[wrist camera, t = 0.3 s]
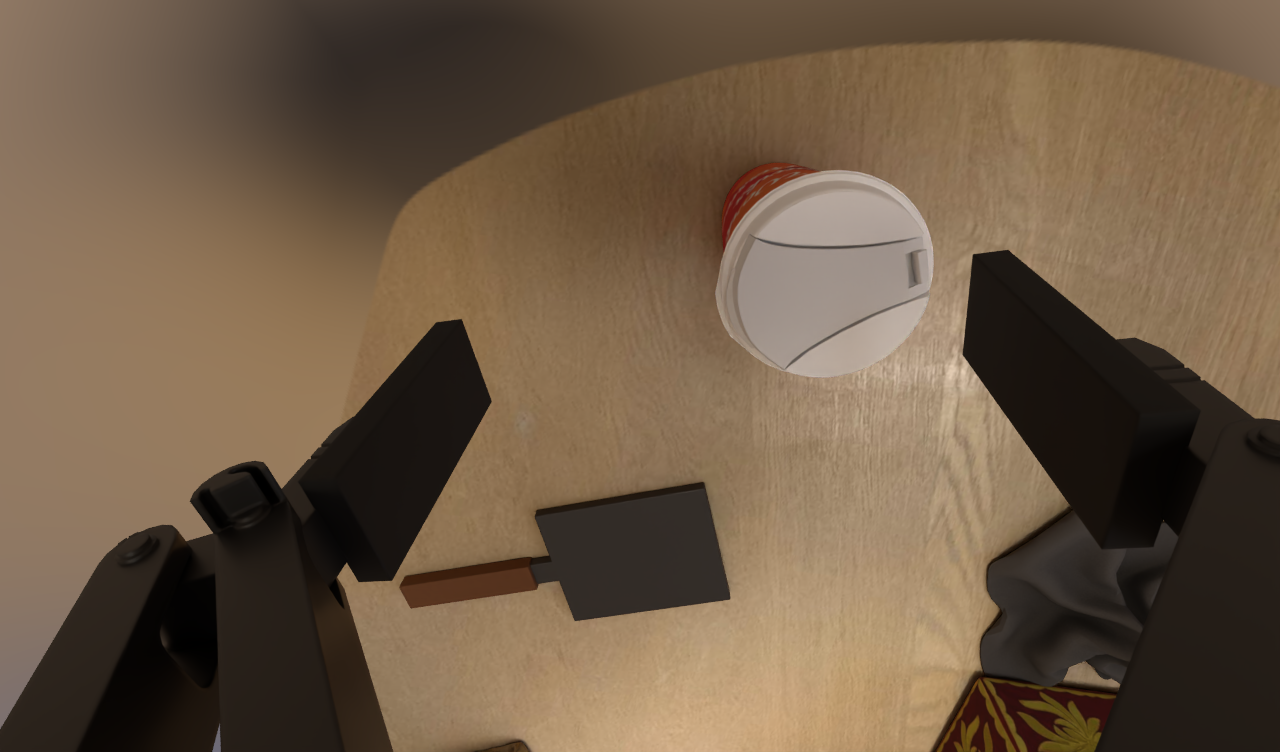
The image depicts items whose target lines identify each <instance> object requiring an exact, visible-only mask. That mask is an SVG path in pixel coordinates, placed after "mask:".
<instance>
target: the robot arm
mask: <svg viewBox="0 0 1280 752" xmlns="http://www.w3.org/2000/svg"><path fill="white" fill-rule="evenodd" d="M963 356H964V357H965V359H966V360H967V361H968V363H969V364H970V366H971V367H972V368H973V370H974V371H975V373H976V374H977V375H978V377H979V378H980V380H981V381H982V382H983V384H984V385H985V387H986V388H987V389H988V391H989V392H990V394H991V395H992V397H993V398H994V399H995V401H996V402H997V404H998V405H999V406H1000V408H1001V409H1002V411H1003V412H1004V413H1005V415H1006V416H1007V418H1008V419H1009V420H1010V422H1011V423H1012V425H1013V426H1014V427H1015V429H1016V430H1017V432H1018V433H1019V434H1020V436H1021V437H1022V439H1023V440H1024V441H1025V443H1026V444H1027V446H1028V447H1029V448H1030V450H1031V451H1032V453H1033V454H1034V455H1035V457H1036V458H1037V460H1038V461H1039V462H1040V464H1041V465H1042V467H1043V468H1044V469H1045V471H1046V472H1047V474H1048V475H1049V476H1050V478H1051V479H1052V481H1053V482H1054V483H1055V485H1056V486H1057V488H1058V489H1059V490H1060V492H1061V493H1062V495H1063V496H1064V497H1065V499H1066V500H1067V502H1068V503H1069V504H1070V506H1071V507H1072V509H1073V510H1074V511H1075V513H1076V514H1077V516H1078V517H1079V518H1080V520H1081V521H1082V523H1083V524H1084V525H1085V527H1086V528H1087V530H1088V531H1089V532H1090V534H1091V535H1092V537H1093V538H1094V539H1095V541H1096V542H1097V544H1098V545H1099V547H1100V548H1101V549H1102V550H1103V549H1126V548H1149V547H1154V544H1155V541H1156V539H1157V536H1158V533H1159V530H1160V527H1161V524H1162V521H1163V520H1164V521H1165V522H1166V524H1167V525H1168V526H1169V527H1170V528H1171V529H1172V530H1173V532H1174V533H1175V534H1176V535H1177V536H1178V537H1179V538H1178V540H1177V543H1176V545H1175V548H1174V550H1173V553H1172V555H1171V558H1170V560H1169V563H1168V566H1167V568H1166V571H1165V573H1164V576H1163V578H1162V581H1161V583H1160V586H1159V588H1158V591H1157V594H1156V596H1155V599H1154V601H1153V604H1152V606H1151V609H1150V611H1149V614H1148V616H1147V619H1146V621H1145V624H1144V627H1143V629H1142V632H1141V634H1140V637H1139V639H1138V642H1137V644H1136V647H1135V649H1134V652H1133V654H1132V657H1131V660H1130V662H1129V665H1128V667H1127V670H1126V672H1125V675H1124V677H1123V680H1122V682H1121V685H1120V687H1119V690H1118V693H1117V695H1116V698H1115V700H1114V703H1113V705H1112V708H1111V710H1110V713H1109V715H1108V718H1107V720H1106V723H1105V726H1104V728H1103V731H1102V733H1101V736H1100V738H1099V741H1098V743H1097V746H1096V748H1095V751H1094V752H1280V421H1279V420H1272V419H1255V418H1253V417H1252V416H1251V415H1249V414H1248V413H1247V412H1245V411H1244V410H1243V409H1241V408H1240V407H1239V406H1238V405H1236V404H1235V403H1234V402H1232V401H1231V400H1230V399H1228V398H1227V397H1226V396H1224V395H1223V394H1222V393H1221V392H1219V391H1218V390H1217V389H1215V388H1214V387H1213V386H1211V385H1210V384H1209V383H1207V382H1206V381H1205V380H1203V381H1201V379H1200V376H1198V375H1197V374H1196V373H1194V372H1193V371H1192V370H1190V369H1189V368H1184V364H1183V363H1181V362H1180V361H1179V360H1177V359H1176V358H1175V357H1173V356H1172V355H1171V354H1170V353H1168V352H1167V351H1166V350H1164V349H1162V348H1159V347H1157V346H1154V345H1152V344H1149V343H1147V342H1144V341H1142V340H1140V339H1137V338H1127V339H1117V340H1116V339H1114V338H1113V337H1112V336H1111V335H1110V334H1108V333H1107V332H1106V331H1105V330H1104V329H1102V328H1101V327H1100V326H1099V325H1098V324H1096V323H1095V322H1094V321H1093V320H1092V319H1090V318H1089V317H1088V316H1087V315H1086V314H1084V313H1083V312H1082V311H1081V310H1080V309H1078V308H1077V307H1076V306H1075V305H1074V304H1072V303H1071V302H1070V301H1069V300H1068V299H1066V298H1065V297H1064V296H1063V295H1062V294H1060V293H1059V292H1058V291H1057V290H1056V289H1054V288H1053V287H1052V286H1051V285H1050V284H1048V283H1047V282H1046V281H1045V280H1044V279H1042V278H1041V277H1040V276H1039V275H1038V274H1036V273H1035V272H1034V271H1033V270H1032V269H1030V268H1029V267H1028V266H1027V265H1026V264H1024V263H1023V262H1022V261H1021V260H1019V259H1018V258H1017V257H1016V256H1015V255H1013V254H1012V253H1011V252H1010V251H1009V250H1004V251H996V252H988V253H980V254H973V259H972V268H971V278H970V288H969V298H968V308H967V318H966V328H965V337H964V347H963ZM491 402H492V401H491V398H490V395H489V393H488V390H487V387H486V384H485V382H484V379H483V376H482V373H481V371H480V368H479V365H478V362H477V360H476V357H475V354H474V352H473V349H472V346H471V343H470V341H469V338H468V335H467V332H466V330H465V327H464V324H463V321H462V319H459V320H452V321H444V322H436V323H435V325H434V326H433V327H432V328H431V329H430V330H429V331H428V333H427V334H426V335H425V336H424V337H423V338H422V339H421V341H420V342H419V343H418V344H417V345H416V346H415V347H414V349H413V350H412V351H411V352H410V353H409V354H408V356H407V357H406V358H405V359H404V360H403V361H402V362H401V364H400V365H399V366H398V367H397V368H396V369H395V370H394V372H393V373H392V374H391V375H390V376H389V377H388V379H387V380H386V381H385V382H384V383H383V384H382V385H381V387H380V388H379V389H378V390H377V391H376V392H375V393H374V395H373V396H372V397H371V398H370V399H369V400H368V402H367V403H366V404H365V405H364V406H363V407H362V408H361V410H360V411H359V412H358V413H357V414H356V415H355V416H354V417H352V418H351V419H349V420H348V421H346V422H345V423H344V424H342V425H341V426H339V427H338V428H337V429H335V430H334V431H333V432H332V433H331V434H330V435H329V436H328V438H327V439H326V440H325V441H324V442H323V443H322V445H321V447H320V448H318V449H317V450H316V451H315V452H314V454H313V455H312V456H311V459H308V460H307V461H306V463H305V464H304V465H303V466H302V467H301V468H300V469H299V470H298V471H297V472H296V474H295V475H294V476H293V477H292V478H291V479H290V480H289V481H288V483H287V484H286V485H285V486H284V487H283V488H282V489H281V488H280V486H279V485H278V483H277V482H276V480H275V478H274V477H273V475H272V474H271V472H270V470H269V469H268V467H267V466H266V465H265V464H264V463H263V462H258V461H251V462H245V463H241V464H238V465H235V466H232V467H229V468H227V469H225V470H223V471H221V472H220V473H218V474H216V475H214V476H213V477H211V478H210V479H208V480H207V481H205V482H204V483H203V484H201V486H200V487H199V488H198V489H197V490H196V491H195V492H194V493H193V495H192V498H191V500H190V502H191V503H192V505H193V506H194V507H195V509H196V510H197V512H198V513H199V514H200V515H201V517H202V518H203V520H204V521H205V522H206V524H207V525H208V526H209V528H210V529H211V531H212V532H213V534H210V535H206V536H203V537H200V538H196V539H193V540H189V541H185V539H184V538H183V537H182V536H181V534H180V533H179V532H178V530H177V529H176V528H175V527H173V526H172V525H160V526H156V527H152V528H148V529H146V530H144V531H141V532H137V533H135V534H133V535H131V536H129V538H128V539H127V538H126V539H124V540H123V541H121V542H120V543H118V545H117V546H116V547H115V548H113V549H112V550H111V551H110V552H109V553H107V554H106V556H105V557H104V558H103V559H102V560H101V562H100V563H99V565H98V566H97V568H96V569H95V571H94V573H93V574H92V576H91V578H90V579H89V581H88V583H87V585H86V586H85V588H84V589H83V591H82V593H81V594H80V596H79V598H78V600H77V601H76V603H75V605H74V606H73V608H72V610H71V611H70V613H69V615H68V616H67V618H66V620H65V621H64V623H63V625H62V626H61V628H60V630H59V631H58V633H57V635H56V637H55V638H54V640H53V642H52V643H51V645H50V647H49V648H48V650H47V652H46V653H45V655H44V657H43V659H42V660H41V662H40V663H39V665H38V667H37V668H36V670H35V672H34V673H33V675H32V677H31V678H30V680H29V682H28V684H27V685H26V687H25V689H24V691H23V692H22V694H21V695H20V697H19V699H18V700H17V702H16V704H15V706H14V707H13V709H12V711H11V712H10V714H9V716H8V717H7V719H6V721H5V722H4V724H3V726H2V727H1V729H0V752H212V750H213V746H214V743H215V738H216V735H217V731H218V727H219V724H220V737H221V752H393V749H392V746H391V742H390V739H389V736H388V733H387V729H386V726H385V723H384V719H383V716H382V713H381V709H380V706H379V703H378V699H377V696H376V693H375V689H374V686H373V683H372V679H371V676H370V673H369V669H368V666H367V663H366V660H365V656H364V653H363V650H362V646H361V643H360V640H359V636H358V633H357V630H356V626H355V623H354V620H353V616H352V613H351V610H350V606H349V603H348V600H347V596H346V593H345V590H344V588H343V586H342V585H341V583H340V581H339V580H338V578H337V576H338V575H339V573H340V572H341V570H342V568H343V567H344V565H345V564H346V562H347V563H348V565H349V567H350V568H351V570H352V572H353V573H354V575H355V577H356V578H357V580H358V582H372V581H392V580H393V578H394V576H395V574H396V573H397V571H398V569H399V567H400V565H401V564H402V562H403V560H404V558H405V556H406V555H407V553H408V551H409V549H410V547H411V546H412V544H413V542H414V540H415V538H416V537H417V535H418V533H419V531H420V529H421V528H422V526H423V524H424V522H425V520H426V519H427V517H428V515H429V513H430V512H431V510H432V508H433V506H434V504H435V503H436V501H437V499H438V497H439V495H440V494H441V492H442V490H443V488H444V486H445V485H446V483H447V481H448V479H449V477H450V476H451V474H452V472H453V470H454V468H455V467H456V465H457V463H458V461H459V459H460V458H461V456H462V454H463V452H464V450H465V449H466V447H467V445H468V443H469V442H470V440H471V438H472V436H473V434H474V433H475V431H476V429H477V427H478V425H479V424H480V422H481V420H482V418H483V416H484V415H485V413H486V411H487V409H488V407H489V406H490V404H491Z"/></svg>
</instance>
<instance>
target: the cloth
mask: <svg viewBox="0 0 1280 752" xmlns="http://www.w3.org/2000/svg"><path fill="white" fill-rule="evenodd" d="M1178 538H1179V537H1178V536H1177V535H1176V534H1175V533H1174V532H1173V530H1172V529H1171V528H1170V527H1169V526H1168V525H1167V524H1166V522H1162V524H1161V527H1160V530H1159V533H1158V536H1157V539H1156V541H1155V544H1154V547H1149V548H1126V549H1103V550H1102V549H1101V548H1100V547H1099V545H1098V544H1097V542H1096V541H1095V539H1094V538H1093V537H1092V535H1091V534H1090V532H1089V531H1088V530H1087V528H1086V527H1085V525H1084V524H1083V523H1082V521H1081V520H1080V518H1079V517H1078V516H1077V514H1076V513H1075V511H1074V510H1072V511H1071V512H1070V513H1068V514H1067V515H1066V516H1064V517H1063V518H1062V519H1060V520H1059V521H1058V522H1056V523H1055V524H1053V525H1052V526H1051V527H1049V528H1048V529H1046V530H1045V531H1044V532H1042V533H1041V534H1040V535H1038V536H1037V537H1035V538H1034V539H1032V540H1030V541H1029V542H1027V543H1026V544H1024V545H1023V546H1021V547H1019V548H1018V549H1016V550H1015V551H1013V552H1012V553H1010V554H1009V555H1007V556H1005V557H1004V558H1001V559H999V560H997V561H995V562H994V563H992V564H991V566H990V568H989V571H988V579H987V587H988V592H989V594H990V596H991V599H992V600H993V601H994V602H995V603H996V604H997V605H998V606H999V607H1000V608H1001V611H1002V613H1003V614H1002V615H1001V617H1000V618H999V619H998V620H997V622H996V623H995V624H994V625H993V626H992V628H991V629H990V630H989V631H988V632H987V633H986V635H985V636H984V637H983V639H982V641H981V647H980V658H981V663H982V668H983V670H984V673H985V675H986V677H991V678H999V679H1007V680H1015V681H1022V682H1030V683H1036V684H1039V685H1041V686H1045V687H1052V686H1054V685H1055V684H1057V683H1059V682H1061V681H1063V679H1064V677H1065V675H1066V673H1067V671H1068V668H1069V667H1070V666H1073V665H1076V664H1078V663H1081V662H1083V661H1086V662H1087V663H1088V664H1090V665H1091V666H1092V667H1094V668H1095V670H1096V672H1097V673H1098V675H1099V676H1100V677H1102V678H1103V679H1107V680H1108V679H1111V678H1112V679H1113V680H1115V681H1117V682H1118V683H1120V684H1121V682H1122V680H1123V677H1124V675H1125V672H1126V670H1127V667H1128V665H1129V662H1130V660H1131V657H1132V654H1133V652H1134V649H1135V647H1136V644H1137V642H1138V639H1139V637H1140V634H1141V632H1142V629H1143V627H1144V624H1145V621H1146V619H1147V616H1148V614H1149V611H1150V609H1151V606H1152V604H1153V601H1154V599H1155V596H1156V594H1157V591H1158V588H1159V586H1160V583H1161V581H1162V578H1163V576H1164V573H1165V571H1166V568H1167V566H1168V563H1169V560H1170V558H1171V555H1172V553H1173V550H1174V548H1175V545H1176V543H1177V540H1178Z"/></svg>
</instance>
